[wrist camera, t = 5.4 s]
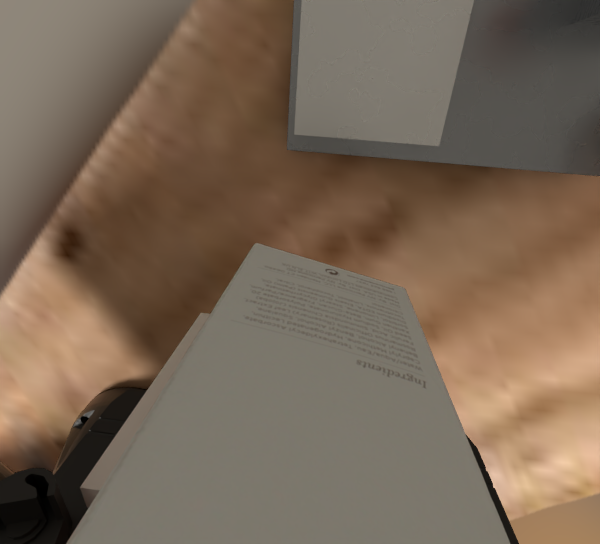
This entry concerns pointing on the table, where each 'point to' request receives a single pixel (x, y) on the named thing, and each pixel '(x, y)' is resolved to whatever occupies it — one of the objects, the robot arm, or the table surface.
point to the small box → (299, 426)
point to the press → (449, 82)
